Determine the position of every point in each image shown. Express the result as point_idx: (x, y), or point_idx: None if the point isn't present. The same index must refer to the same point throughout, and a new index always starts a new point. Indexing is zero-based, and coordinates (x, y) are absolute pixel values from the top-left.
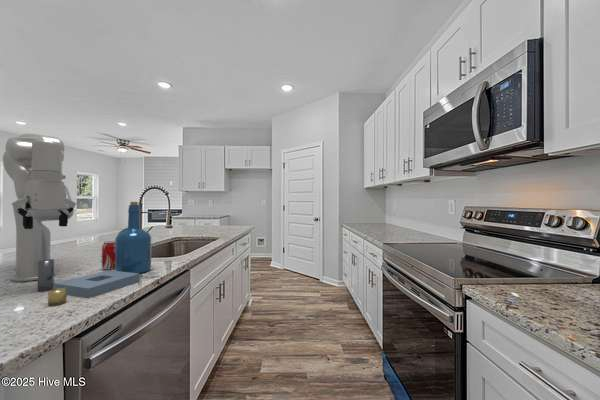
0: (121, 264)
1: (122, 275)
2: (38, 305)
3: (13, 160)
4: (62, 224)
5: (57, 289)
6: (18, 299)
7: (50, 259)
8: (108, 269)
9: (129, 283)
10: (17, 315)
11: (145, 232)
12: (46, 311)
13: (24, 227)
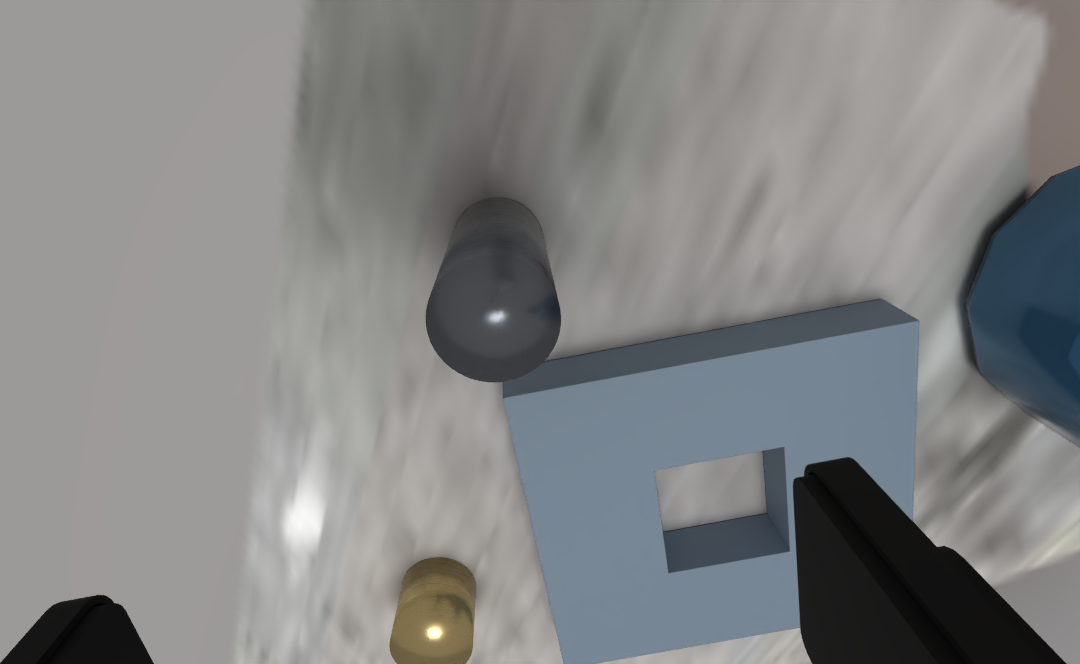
0: (1027, 368)
1: None
2: (374, 543)
3: None
4: (816, 614)
5: (435, 634)
6: (330, 337)
7: (536, 309)
8: None
9: None
10: (280, 608)
11: None
12: (374, 651)
13: (53, 627)
